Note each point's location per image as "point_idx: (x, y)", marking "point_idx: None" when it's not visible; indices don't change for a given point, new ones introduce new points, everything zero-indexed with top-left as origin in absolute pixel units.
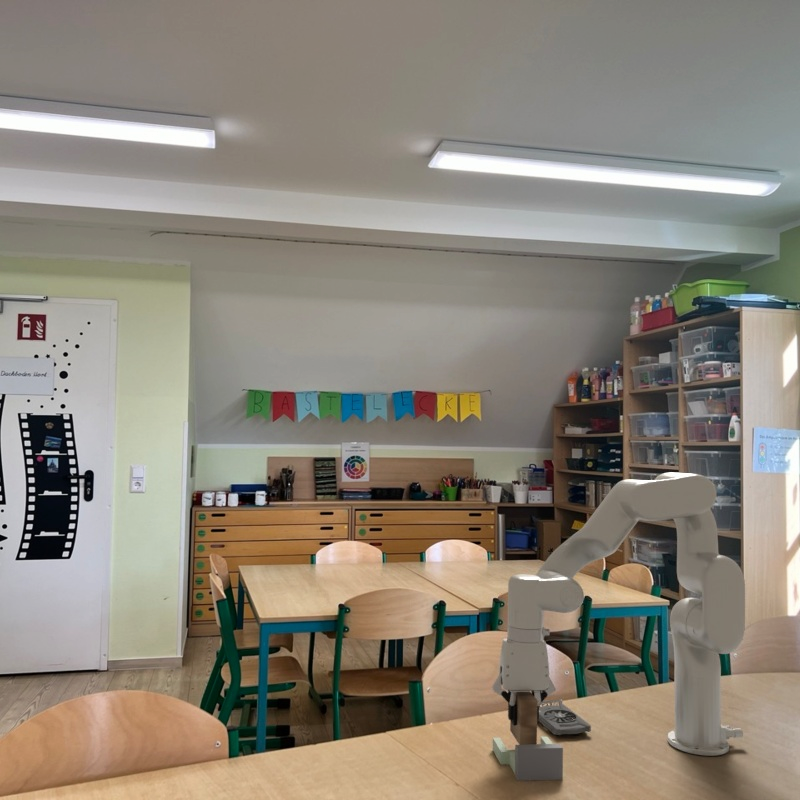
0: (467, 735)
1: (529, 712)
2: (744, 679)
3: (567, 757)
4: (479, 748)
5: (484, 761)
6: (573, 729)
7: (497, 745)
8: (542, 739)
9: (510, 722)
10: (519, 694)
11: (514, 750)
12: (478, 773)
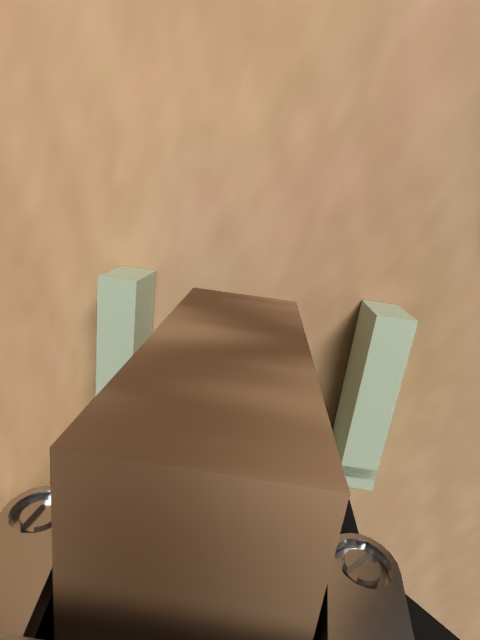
0: (32, 41)
1: None
2: None
3: (435, 413)
4: (64, 237)
5: (57, 374)
6: None
7: (96, 376)
8: (367, 351)
9: (183, 300)
10: None
11: None
12: (15, 462)
